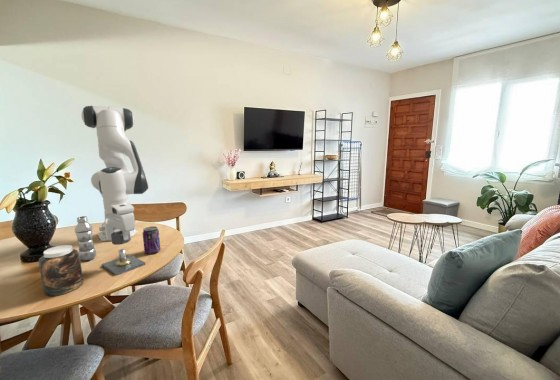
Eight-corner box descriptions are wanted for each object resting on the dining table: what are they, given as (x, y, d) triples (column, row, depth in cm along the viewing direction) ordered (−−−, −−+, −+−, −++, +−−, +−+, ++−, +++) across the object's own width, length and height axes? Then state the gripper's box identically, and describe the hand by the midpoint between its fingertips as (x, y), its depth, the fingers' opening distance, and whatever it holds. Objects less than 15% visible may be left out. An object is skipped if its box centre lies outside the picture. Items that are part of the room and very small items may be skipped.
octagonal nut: (110, 242, 113) (108, 233, 112) (126, 237, 118) (124, 229, 117) (116, 245, 109) (115, 236, 109) (132, 240, 114) (131, 231, 114)
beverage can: (154, 255, 126) (151, 231, 124) (141, 254, 127) (138, 230, 125) (163, 249, 133) (161, 226, 131) (151, 248, 134) (148, 225, 132)
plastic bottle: (86, 263, 118) (79, 220, 114) (75, 261, 120) (69, 218, 117) (100, 257, 124) (94, 216, 120) (90, 255, 126) (84, 214, 123)
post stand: (101, 266, 115) (99, 250, 114) (130, 256, 125) (129, 242, 123) (115, 275, 107) (113, 259, 106) (145, 264, 116) (143, 249, 115)
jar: (38, 290, 97) (31, 251, 94) (75, 276, 107) (70, 241, 104) (51, 299, 91) (44, 258, 88) (89, 284, 101) (84, 247, 98)
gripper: (98, 205, 115) (103, 235, 117) (119, 211, 103) (124, 245, 105) (114, 202, 120) (118, 231, 122) (135, 207, 107) (140, 240, 110)
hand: (121, 237), depth 114 cm, fingers closed on octagonal nut, 6 cm apart
